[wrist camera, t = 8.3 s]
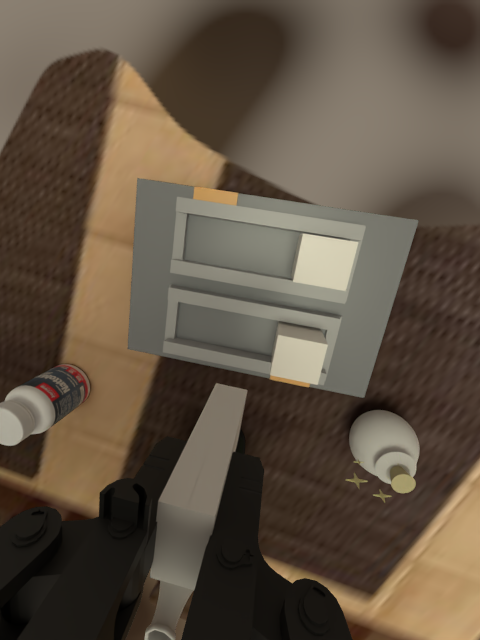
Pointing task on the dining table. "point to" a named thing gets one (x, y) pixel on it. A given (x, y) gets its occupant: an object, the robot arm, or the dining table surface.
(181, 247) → the switch board
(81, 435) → the dining table surface
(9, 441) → the pill bottle
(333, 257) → the tab
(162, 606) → the flask
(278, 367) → the tab
